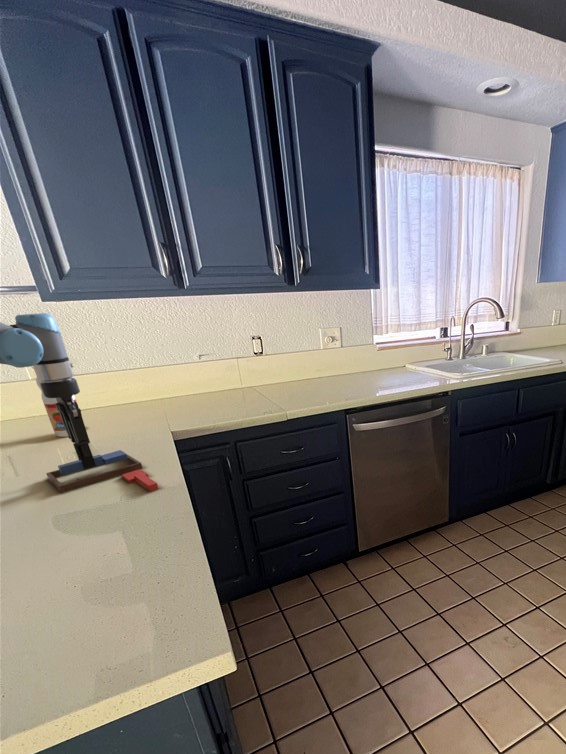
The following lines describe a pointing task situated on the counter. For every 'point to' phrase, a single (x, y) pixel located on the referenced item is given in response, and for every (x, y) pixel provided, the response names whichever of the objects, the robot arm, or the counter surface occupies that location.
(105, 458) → the blue stepped block
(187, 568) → the counter surface
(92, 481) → the tray
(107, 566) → the counter surface
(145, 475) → the red t-shaped block
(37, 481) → the counter surface
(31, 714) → the counter surface
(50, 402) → the fruit juice
